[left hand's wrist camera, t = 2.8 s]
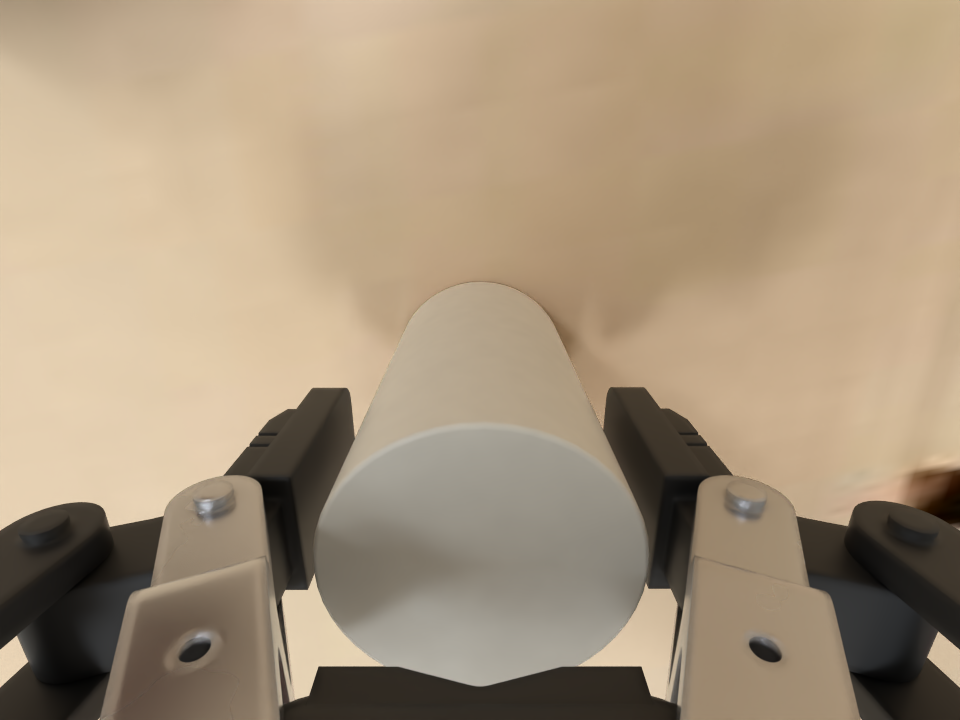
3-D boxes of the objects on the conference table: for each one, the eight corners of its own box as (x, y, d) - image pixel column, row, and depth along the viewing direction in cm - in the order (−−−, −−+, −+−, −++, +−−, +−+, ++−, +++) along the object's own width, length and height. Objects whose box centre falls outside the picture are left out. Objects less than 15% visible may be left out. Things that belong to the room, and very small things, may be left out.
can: (464, 459, 16) (449, 732, 9) (365, 344, 15) (238, 545, 7) (592, 377, 15) (712, 601, 8) (499, 246, 14) (525, 352, 6)
